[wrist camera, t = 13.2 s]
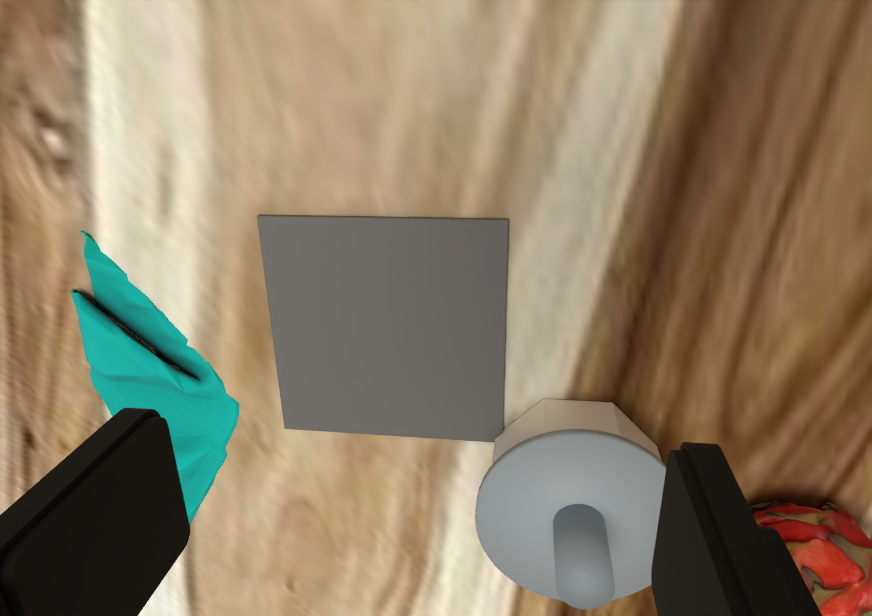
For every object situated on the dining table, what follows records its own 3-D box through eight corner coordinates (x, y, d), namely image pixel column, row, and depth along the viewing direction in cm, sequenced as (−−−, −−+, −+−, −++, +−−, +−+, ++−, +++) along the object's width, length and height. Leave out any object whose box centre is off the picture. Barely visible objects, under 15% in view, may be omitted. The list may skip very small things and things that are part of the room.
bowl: (662, 405, 41) (679, 449, 37) (644, 535, 45) (657, 589, 41) (496, 396, 43) (492, 437, 38) (493, 522, 47) (489, 573, 42)
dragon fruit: (866, 547, 45) (701, 486, 47) (953, 521, 38) (752, 450, 40) (863, 674, 41) (682, 600, 43) (960, 672, 34) (736, 584, 36)
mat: (508, 218, 38) (508, 220, 38) (502, 439, 44) (502, 442, 44) (259, 214, 40) (257, 216, 40) (286, 425, 46) (284, 428, 46)
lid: (698, 435, 36) (727, 501, 31) (672, 601, 41) (693, 682, 36) (475, 423, 38) (467, 483, 33) (476, 583, 43) (468, 659, 38)
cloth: (250, 540, 52) (239, 561, 50) (97, 514, 53) (80, 532, 51) (239, 245, 42) (225, 255, 40) (50, 220, 43) (26, 228, 41)
